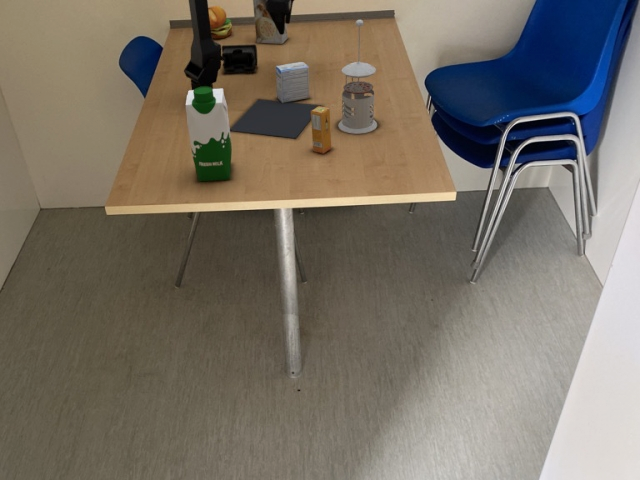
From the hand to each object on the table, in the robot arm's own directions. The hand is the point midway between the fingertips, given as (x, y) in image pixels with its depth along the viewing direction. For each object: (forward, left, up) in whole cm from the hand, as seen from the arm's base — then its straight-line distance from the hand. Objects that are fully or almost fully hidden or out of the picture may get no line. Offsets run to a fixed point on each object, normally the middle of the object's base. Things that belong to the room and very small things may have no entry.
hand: (284, 28), depth 187 cm
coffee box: (+29, +16, -14) cm, 36 cm away
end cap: (+3, +16, -14) cm, 21 cm away
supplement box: (-41, -24, -14) cm, 49 cm away
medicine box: (-14, -7, -14) cm, 21 cm away
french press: (-25, -28, -14) cm, 40 cm away
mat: (-27, -7, -14) cm, 31 cm away
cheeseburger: (+30, +36, -14) cm, 49 cm away
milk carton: (-58, -4, -14) cm, 60 cm away
